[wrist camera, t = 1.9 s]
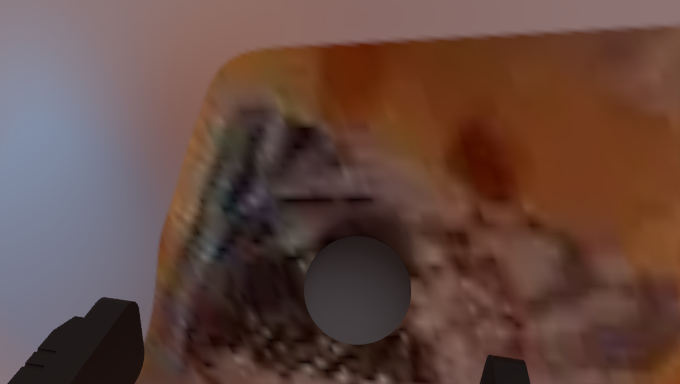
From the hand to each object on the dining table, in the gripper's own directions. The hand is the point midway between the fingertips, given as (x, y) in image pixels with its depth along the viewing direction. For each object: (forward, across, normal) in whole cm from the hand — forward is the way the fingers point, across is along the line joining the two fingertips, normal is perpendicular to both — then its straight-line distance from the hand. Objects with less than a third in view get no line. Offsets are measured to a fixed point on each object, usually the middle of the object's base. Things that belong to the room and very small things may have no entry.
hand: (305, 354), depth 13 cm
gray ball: (+14, 0, +9) cm, 16 cm away
